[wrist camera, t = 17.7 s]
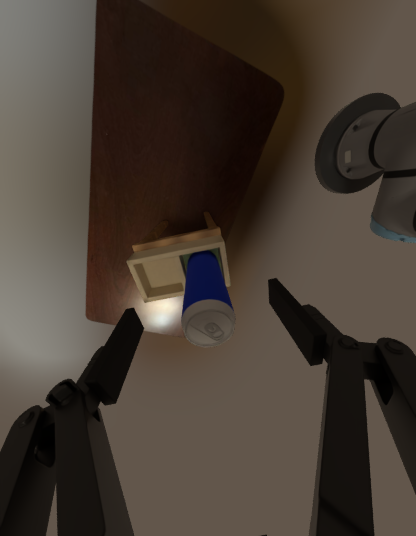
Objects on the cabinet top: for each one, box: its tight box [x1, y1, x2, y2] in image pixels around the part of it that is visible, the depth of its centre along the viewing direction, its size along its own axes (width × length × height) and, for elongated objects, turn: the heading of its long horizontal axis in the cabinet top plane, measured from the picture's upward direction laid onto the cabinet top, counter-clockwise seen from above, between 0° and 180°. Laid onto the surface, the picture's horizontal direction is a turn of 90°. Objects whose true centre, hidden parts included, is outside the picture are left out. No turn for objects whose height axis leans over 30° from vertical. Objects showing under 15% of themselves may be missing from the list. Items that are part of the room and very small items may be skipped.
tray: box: [126, 235, 231, 303], centre depth 28 cm, size 15×8×4 cm, turn 101°
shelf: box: [132, 212, 221, 252], centre depth 41 cm, size 15×10×26 cm, turn 101°
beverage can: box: [181, 250, 236, 347], centre depth 21 cm, size 5×5×15 cm
